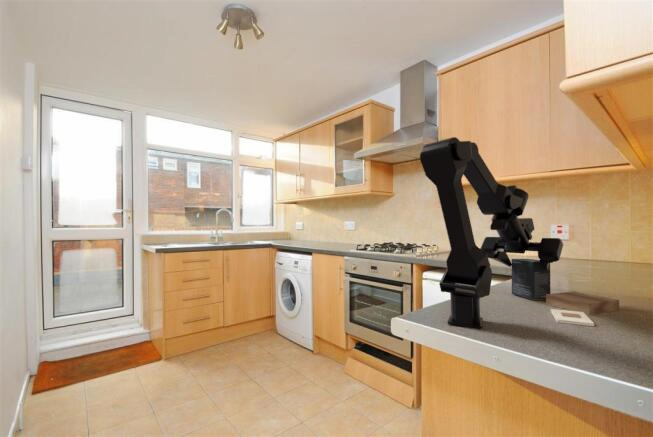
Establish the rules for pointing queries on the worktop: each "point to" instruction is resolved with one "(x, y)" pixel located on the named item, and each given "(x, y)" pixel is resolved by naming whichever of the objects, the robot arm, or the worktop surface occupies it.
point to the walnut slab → (582, 302)
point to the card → (571, 317)
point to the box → (530, 279)
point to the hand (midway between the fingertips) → (528, 267)
